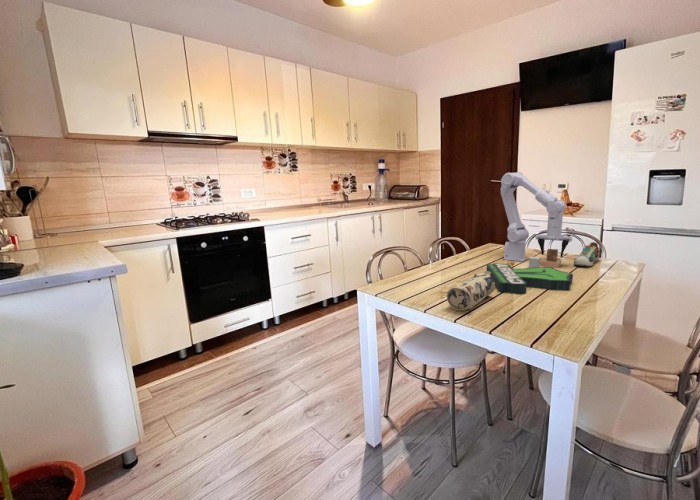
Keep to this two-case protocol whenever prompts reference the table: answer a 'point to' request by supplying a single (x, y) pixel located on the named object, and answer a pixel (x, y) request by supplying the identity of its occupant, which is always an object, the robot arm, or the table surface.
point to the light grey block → (534, 262)
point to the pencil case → (471, 291)
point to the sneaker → (588, 255)
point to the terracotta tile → (550, 263)
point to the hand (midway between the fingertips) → (551, 255)
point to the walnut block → (552, 255)
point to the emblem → (528, 278)
